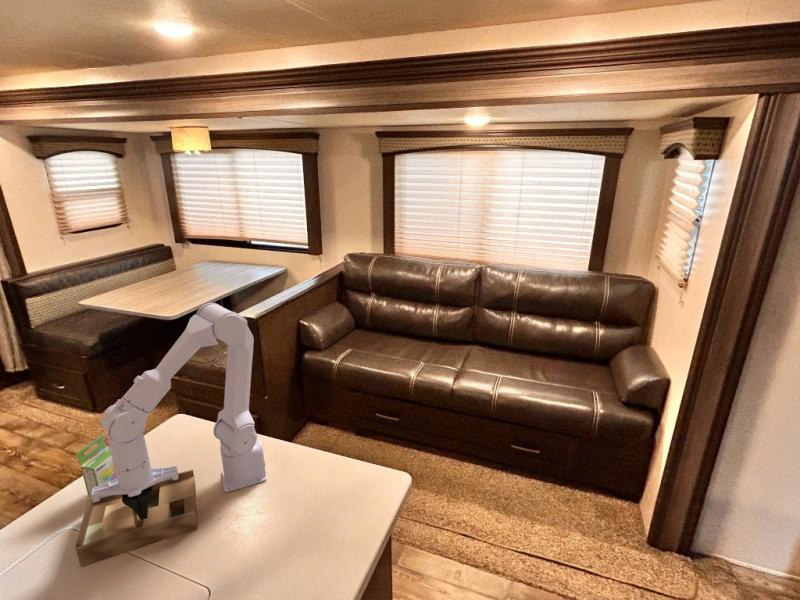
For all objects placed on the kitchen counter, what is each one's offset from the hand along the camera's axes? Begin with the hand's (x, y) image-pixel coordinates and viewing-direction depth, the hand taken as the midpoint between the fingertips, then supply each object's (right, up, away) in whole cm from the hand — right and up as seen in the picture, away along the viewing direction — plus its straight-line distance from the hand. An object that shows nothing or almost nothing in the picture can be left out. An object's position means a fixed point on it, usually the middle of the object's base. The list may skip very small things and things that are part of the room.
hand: (144, 515), depth 85 cm
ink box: (-15, 0, +11) cm, 19 cm away
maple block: (-3, -1, -1) cm, 4 cm away
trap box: (-2, -3, +3) cm, 5 cm away
